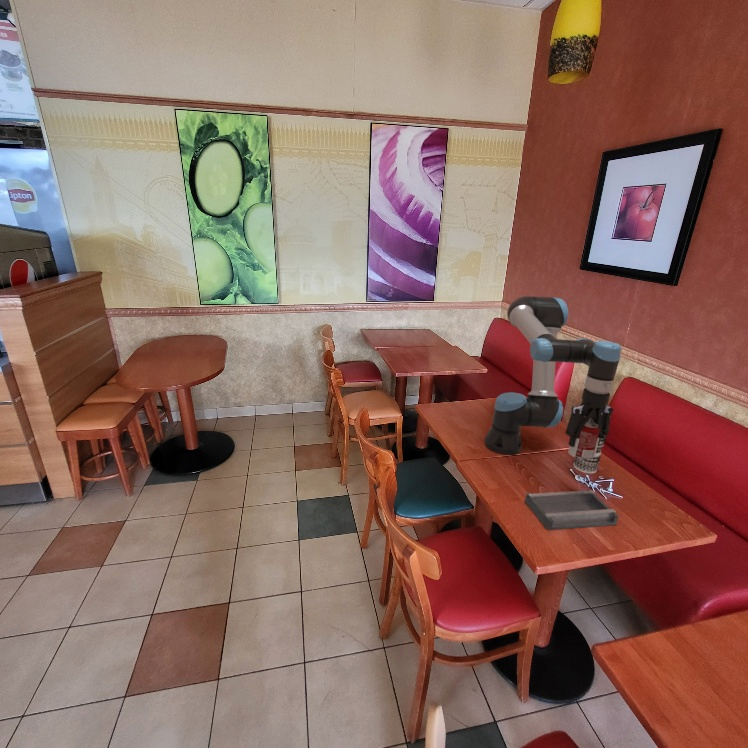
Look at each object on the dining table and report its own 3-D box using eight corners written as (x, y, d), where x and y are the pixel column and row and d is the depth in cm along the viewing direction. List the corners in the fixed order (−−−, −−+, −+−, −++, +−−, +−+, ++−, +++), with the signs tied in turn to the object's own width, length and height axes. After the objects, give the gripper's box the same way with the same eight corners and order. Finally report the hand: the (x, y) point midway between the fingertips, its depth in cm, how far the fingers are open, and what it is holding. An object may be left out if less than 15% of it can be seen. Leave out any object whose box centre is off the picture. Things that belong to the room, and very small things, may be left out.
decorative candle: (599, 476, 155) (615, 417, 147) (573, 470, 158) (587, 412, 150) (596, 464, 163) (612, 408, 155) (571, 459, 166) (585, 403, 158)
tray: (524, 501, 138) (526, 491, 136) (587, 497, 142) (590, 487, 141) (547, 530, 125) (550, 519, 124) (616, 524, 129) (619, 514, 128)
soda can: (595, 462, 131) (603, 428, 128) (573, 459, 133) (581, 426, 129) (588, 452, 138) (596, 420, 134) (567, 449, 139) (575, 417, 135)
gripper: (577, 395, 122) (562, 461, 130) (633, 393, 126) (615, 458, 133) (562, 386, 129) (548, 450, 137) (615, 385, 133) (599, 447, 140)
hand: (581, 454), depth 135 cm, fingers closed on soda can, 7 cm apart
